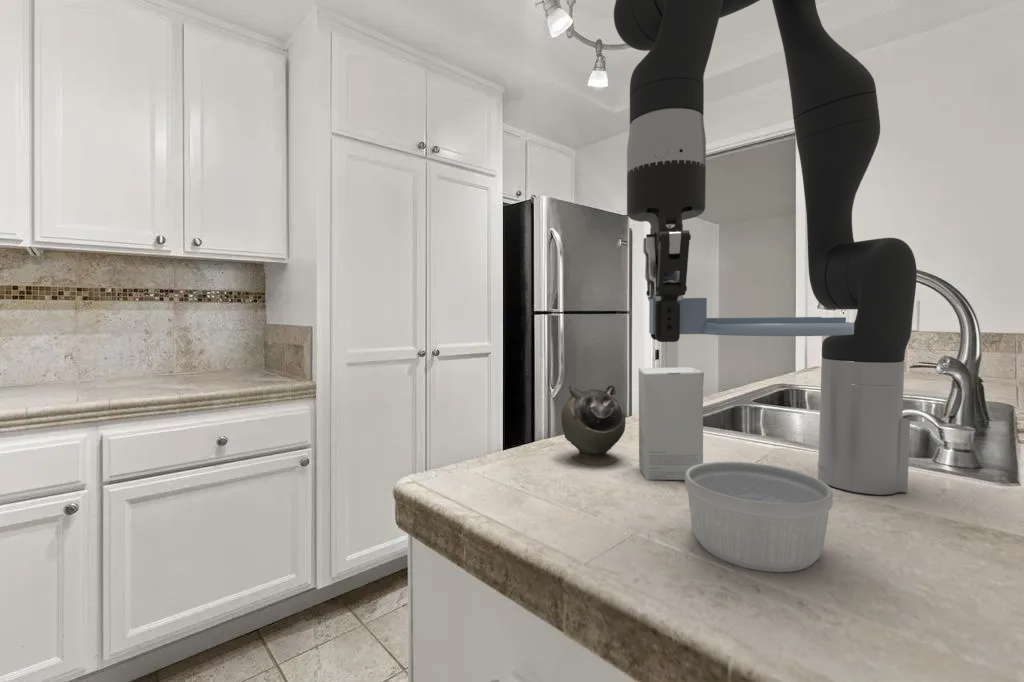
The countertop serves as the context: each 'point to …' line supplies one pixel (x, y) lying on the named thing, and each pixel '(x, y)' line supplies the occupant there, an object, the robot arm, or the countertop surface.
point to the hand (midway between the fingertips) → (664, 339)
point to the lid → (751, 323)
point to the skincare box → (670, 421)
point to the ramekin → (758, 514)
